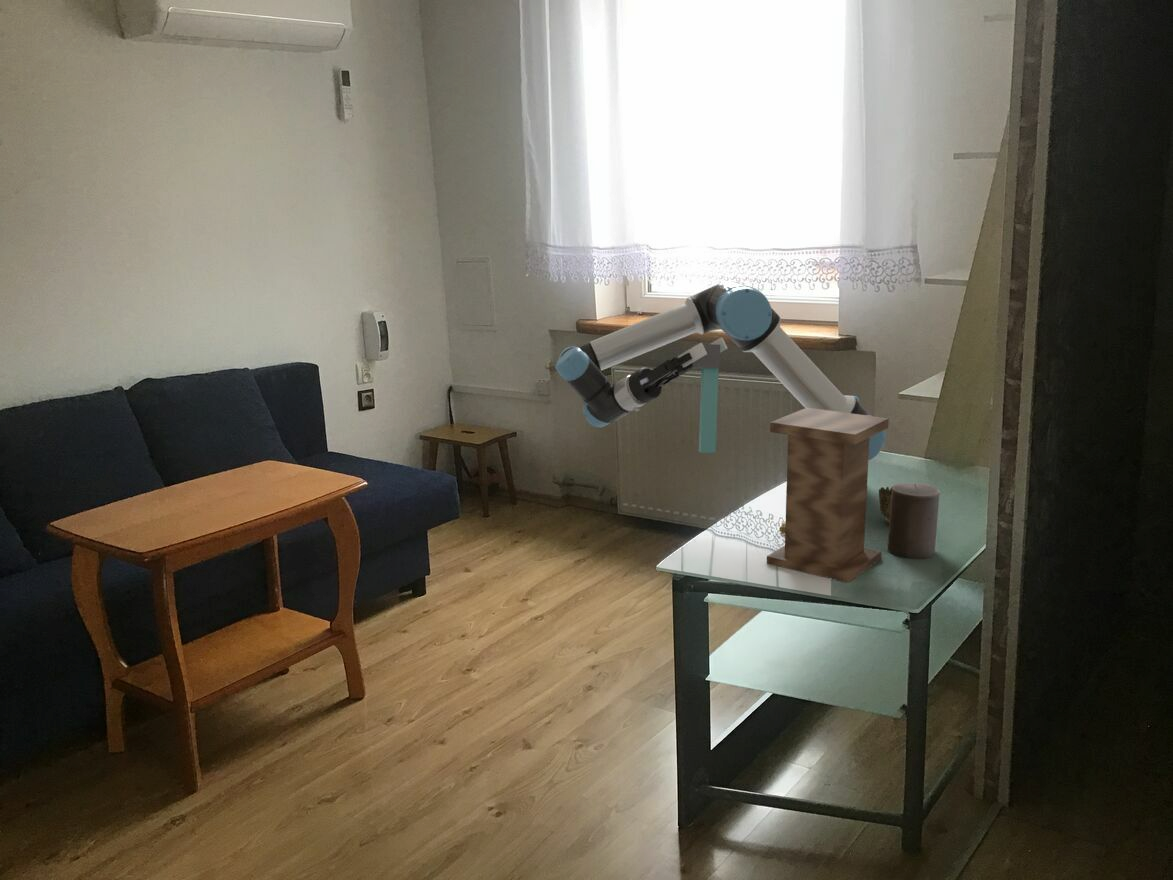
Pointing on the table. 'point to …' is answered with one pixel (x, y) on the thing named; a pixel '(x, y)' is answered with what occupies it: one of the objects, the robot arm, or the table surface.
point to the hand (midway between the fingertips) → (714, 345)
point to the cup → (885, 502)
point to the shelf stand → (826, 492)
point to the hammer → (708, 397)
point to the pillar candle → (913, 520)
